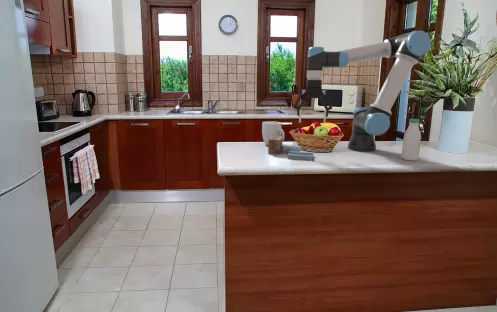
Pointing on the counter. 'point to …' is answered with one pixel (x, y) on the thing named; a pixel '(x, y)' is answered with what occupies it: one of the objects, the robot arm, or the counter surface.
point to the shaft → (289, 148)
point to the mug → (271, 130)
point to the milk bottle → (411, 141)
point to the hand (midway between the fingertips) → (312, 122)
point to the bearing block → (274, 144)
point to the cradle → (300, 155)
